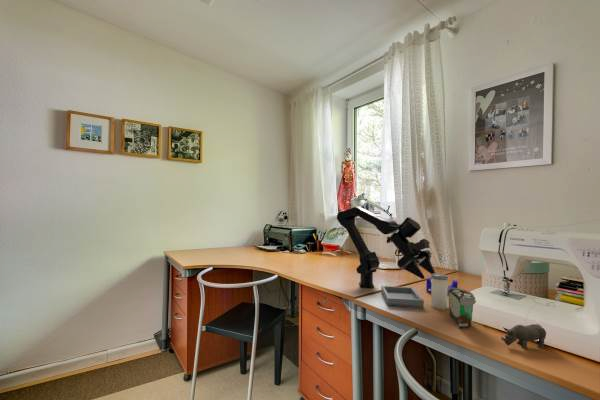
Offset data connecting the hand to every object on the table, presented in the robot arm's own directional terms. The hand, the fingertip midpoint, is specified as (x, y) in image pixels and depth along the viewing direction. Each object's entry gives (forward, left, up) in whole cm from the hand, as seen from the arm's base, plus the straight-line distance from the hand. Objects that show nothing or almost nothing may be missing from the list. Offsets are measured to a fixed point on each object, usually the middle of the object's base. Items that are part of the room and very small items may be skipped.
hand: (429, 276), depth 109 cm
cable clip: (-16, +10, -11) cm, 22 cm away
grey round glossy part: (+3, +3, -11) cm, 11 cm away
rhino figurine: (+29, +16, -11) cm, 35 cm away
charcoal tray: (-2, -10, -11) cm, 15 cm away
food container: (+17, +6, -11) cm, 21 cm away
